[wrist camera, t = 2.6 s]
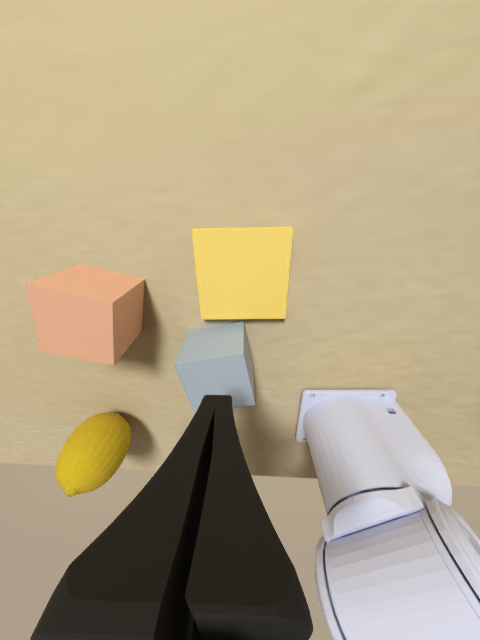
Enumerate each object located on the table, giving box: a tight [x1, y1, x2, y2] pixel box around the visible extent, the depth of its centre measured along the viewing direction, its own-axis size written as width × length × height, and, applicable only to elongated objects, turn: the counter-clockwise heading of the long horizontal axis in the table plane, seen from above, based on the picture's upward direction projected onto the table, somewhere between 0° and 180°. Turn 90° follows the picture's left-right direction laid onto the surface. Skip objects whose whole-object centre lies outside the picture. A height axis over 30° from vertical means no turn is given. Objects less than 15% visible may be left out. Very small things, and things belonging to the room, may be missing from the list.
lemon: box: [56, 413, 131, 497], centre depth 22 cm, size 6×6×8 cm
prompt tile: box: [192, 227, 293, 319], centre depth 17 cm, size 7×7×1 cm
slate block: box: [174, 321, 255, 413], centre depth 19 cm, size 5×5×5 cm
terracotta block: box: [26, 264, 145, 366], centre depth 17 cm, size 5×5×5 cm
